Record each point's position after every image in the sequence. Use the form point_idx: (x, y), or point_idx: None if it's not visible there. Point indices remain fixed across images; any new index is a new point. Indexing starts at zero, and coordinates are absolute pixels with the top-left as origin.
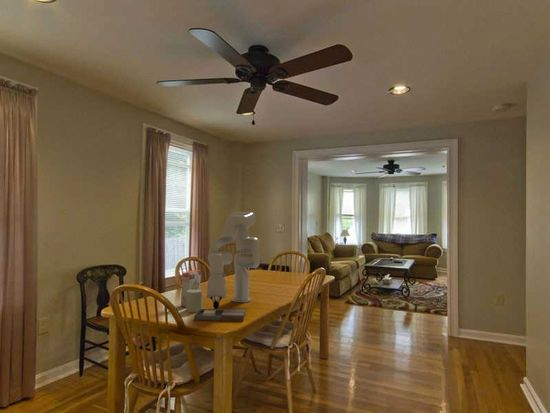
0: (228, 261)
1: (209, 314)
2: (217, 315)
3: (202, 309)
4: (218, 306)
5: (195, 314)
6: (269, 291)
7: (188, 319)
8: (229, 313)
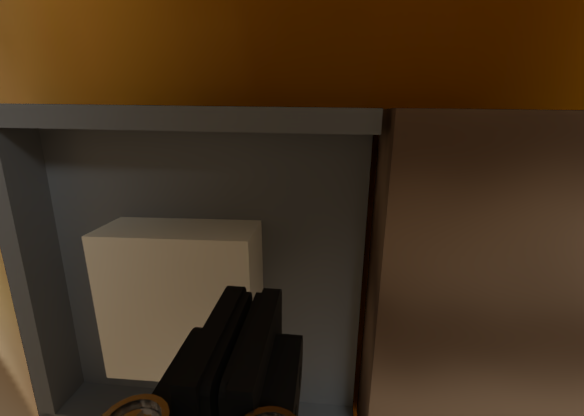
0: None
1: None
2: (294, 259)
3: (20, 126)
4: (299, 388)
5: (31, 380)
6: None
7: (11, 347)
8: (485, 406)
